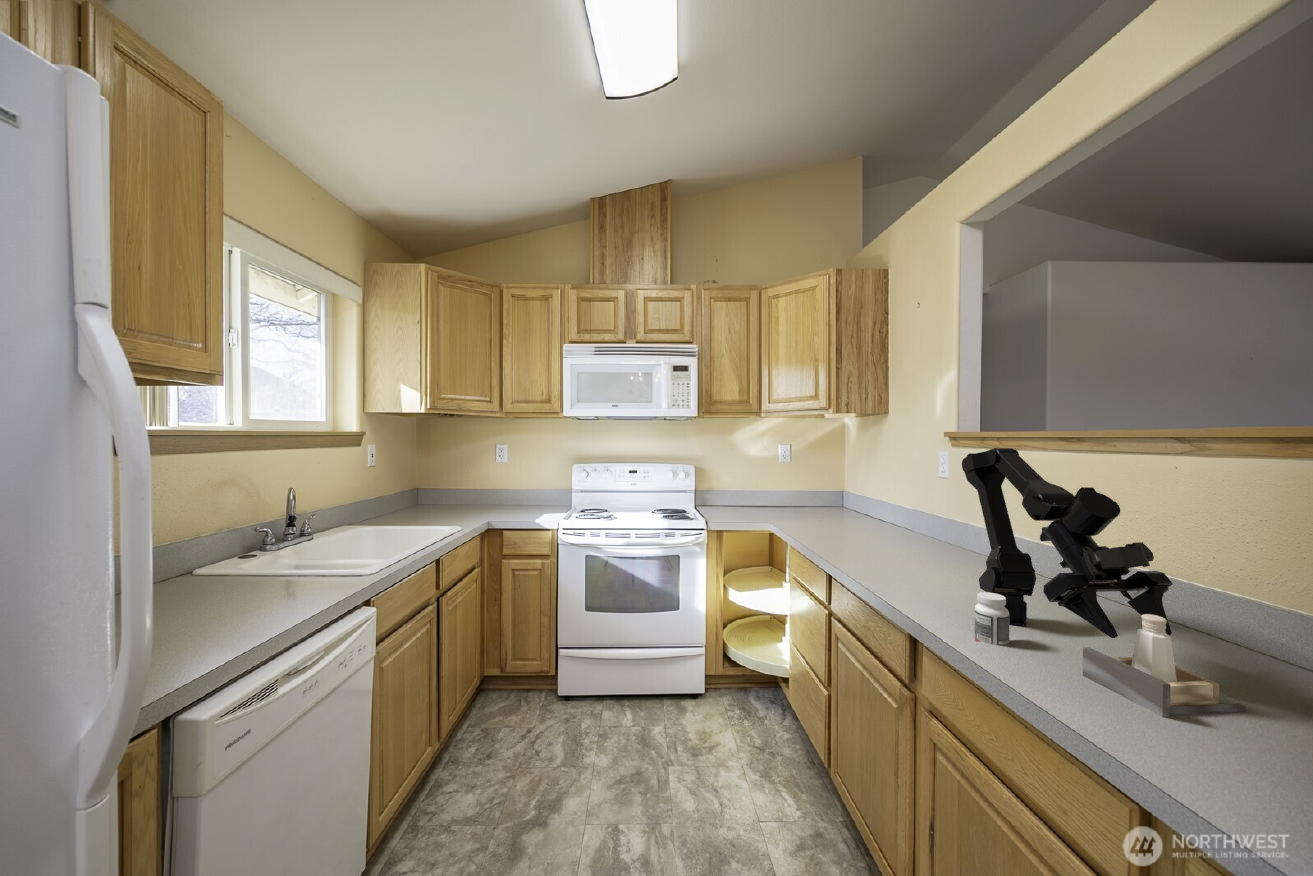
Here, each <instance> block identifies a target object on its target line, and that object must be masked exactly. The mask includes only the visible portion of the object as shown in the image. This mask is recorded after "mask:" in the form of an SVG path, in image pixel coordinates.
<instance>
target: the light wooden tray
mask: <svg viewBox="0 0 1313 876" xmlns="http://www.w3.org/2000/svg"><path fill="white" fill-rule="evenodd" d="M1113 658H1114V659H1116V660H1118V661H1121V662H1123V663H1125V664H1127V665H1129V666H1131V664H1132V658H1133V656H1129V657H1128V656H1125V657H1113ZM1175 672H1176V680H1177V682H1169V684H1170V707H1175V706H1193V705H1212V704H1220V683H1218V682H1215V681H1213V680H1210V679H1209V678H1206V677H1204V676H1201V675H1198V674H1197V673H1194V672H1192V671H1190V670H1187V669H1185V668H1182V667H1180V666H1178V665H1175Z"/></svg>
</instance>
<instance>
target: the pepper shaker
mask: <svg viewBox="0 0 1313 876" xmlns="http://www.w3.org/2000/svg"><path fill="white" fill-rule="evenodd" d="M1140 617H1141V624H1142V628H1138V629H1137V631H1136V635H1135V640H1134V647H1133V653H1132V657H1133V658H1132V664H1131V666H1132V667H1134V668H1136V669H1138V670H1140V671H1143V672H1145V673H1147V674H1149V675H1151V676H1154V677H1156V678H1158V679H1160V680H1163V681H1165V682H1167V683H1169V682H1177V680H1176V672H1175V666H1176V665H1175V659H1174V650H1173V642H1172V641H1173V640H1172V637H1171V635H1168V634H1166V633H1165V632H1166V631H1165V629H1166V623H1167V620H1168V619H1167V620H1166V619H1165V618H1163V617H1160V616H1157V615H1151V614H1144V615H1142V616H1141V615H1140Z"/></svg>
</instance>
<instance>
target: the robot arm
mask: <svg viewBox="0 0 1313 876" xmlns="http://www.w3.org/2000/svg"><path fill="white" fill-rule="evenodd" d="M961 469H962V471H963V472H964V476H965V478H966V481H967V482H968V483H969V484H970V485H971V486H972V487H973V488H974V489H975V490H976V491H977V494H978V499H979V503H980V508H981V511H982V516H983V520H984V523H985V529H986V532H987V533H986V534H987V536H988V537H987V538H988V543H989V547H990V552H989V554H988V557H987V559H986V560H985V565H986V569H985V570H984V572H983V573H982V574H981V575H980V577H979V578H978V583H979V588H980V590H982V591H983V592H990V593H996V594H999V595H1002V596H1004V597H1005V598H1006V605H1005V606H1004V607H1005V608H1006V609H1007V610H1008V611H1009V625H1014V626H1021V627H1026V626H1027V623H1026V621H1027V617H1028V614H1027V613H1028V609H1027V608H1028V607H1027V606H1028V603H1027V602H1026V601H1025V597H1024V596H1028V597H1032V595H1033V592H1034V589H1035V585H1036V581H1037V576H1036V575H1037V574H1036V569H1035V567H1034V565H1033V562H1032V557H1031V555H1030V554H1029V553H1028V552H1022V551H1021V550H1020V549H1019V547H1018V546H1017V543H1016V542H1017V541H1016V539H1015V534H1014V531H1013V527H1012V522H1011V518H1010V515H1009V511H1008V507H1007V503H1006V499H1005V495H1004V491H1003V488H1002V487H1003V483H1004V481H1005V479H1006V480H1008V482H1009V483H1010V484H1011V485H1012V486H1013V487H1014V488H1015V489H1016V491H1018V492H1019V493H1020V495H1021V497H1022V502H1021V505H1022V507H1023V509H1024V510H1025V511H1026V514H1028V516H1029V517H1030V518H1031V519H1032V520H1033V521H1035V522H1037V521H1039V522H1040V521H1041V522H1043V521H1044V522H1050V523H1049V525H1048V526H1042V527H1041V533H1040V535H1039V541H1040V542H1043V543H1044V542H1051V544H1052V545H1053V546H1054V548H1055V550H1056V551H1057V552H1058V554H1059V555H1060V557H1061V558H1062V559H1063V560H1061V561H1060V562H1059V564H1060V566H1061V568H1062V569H1069V570H1070V571H1071V572H1059V573H1058V574H1057V575H1055V576H1054V577H1052V578H1051V579H1049V581H1047V582H1046V583H1044V584H1043V594H1044V596H1045V597H1046V598H1047V600H1048V602H1049V603H1057V605H1058V606H1059V607H1060V608H1061V607H1063V608H1065V609H1067V610H1068V611H1070V612H1072V613H1074V614H1075V615H1077V616H1078V617H1080V618H1082V619H1083V620H1084V621H1086V622H1088V623H1089V624H1091V625H1092V626H1093V627H1095V628H1096V629H1097V630H1099V631H1100V632H1102V633H1103V634H1104V635H1106V636H1108V637H1109V638H1110V639H1115V638H1117V637H1118V636H1119V635H1118V632H1117V630H1116V628H1115V627H1114V625H1113V623H1112V622H1111V620H1110V619H1109V617H1108V616H1107V614H1106V613H1105V611H1104V609H1103V608H1102V606H1101V605H1100V603H1099V602H1098V597H1097V595H1098V594H1097V593H1099V592H1100V593H1101V592H1103V593H1104V592H1120V593H1121V595H1122V596H1123V597H1124V598H1126V599H1127V600H1128V601H1127V602H1126V603H1127V604H1128V606H1130V607H1131V608H1132V609H1133V610H1135V612H1137V614H1139V615H1140V617H1141V616H1142V615H1144V614H1151V615H1157V616H1160V617H1163V618H1165V619H1166V620H1167V623H1166V629H1165V631H1166V632H1165V633H1166V634H1168V635H1169V636H1171V635H1172V634H1173V633H1172V629H1171V626H1170V623H1169V619H1168V616H1167V613H1166V611H1165V608H1164V603H1163V597H1164V595H1165V593H1167V592H1168V591H1169V588H1170V587H1171V586H1173V585H1174V583H1173V582H1172V581H1171V579H1170V578H1169V577H1168V575H1166V573H1165V572H1162V571H1158V570H1138V571H1136V572H1134V573H1133V574H1131V575H1129V576H1128V577H1126V578H1124V579H1123V578H1122V576H1127V575H1128V574H1130V573H1131V570H1130V569H1133V568H1138V567H1144V568H1146V567H1150V566H1151V565H1150V562H1152V561H1154V559H1155V557H1154V553H1153V551H1152V550H1151V549H1150V548H1149V546H1147V545H1146V544H1145V543H1144V542H1143V541H1141V542H1132V543H1127V544H1125V546H1116V547H1115V546H1114V547H1111V548H1109V547H1108V546H1106V545H1105V546H1104V545H1103V546H1101V545H1100V546H1099V545H1098V543H1097V541H1095V540H1094V538H1093V537H1095V536H1098V535H1100V533H1102V532H1103V531H1104V530H1105V529H1106V528H1107V527H1108V526H1109V525H1110V524H1111V523H1112V522H1113V521H1114V520H1115V519H1117V517H1118V516H1120V515H1121V506H1120V505H1119V503H1118V502H1117V501H1114V500H1113V499H1112V498H1111V497H1109V496H1107V495H1105V494H1103V493H1100V492H1098V491H1096V489H1095V488H1094V487H1091V486H1090V487H1085V486H1084V487H1080V488H1078V490H1077V491H1076V494H1075V495H1074V494H1073V493H1072V492H1070V491H1068V490H1067V489H1066V488H1063V487H1062V486H1059V485H1057V484H1054V483H1051V482H1049V481H1046V480H1045V479H1044V478H1043V477H1042V476H1041V475H1040V474H1039V473H1038V472H1037V471H1035V469H1034V468H1033V467H1032V466H1031V465H1030V464H1028V462H1026V461H1025V459H1023V458H1022V457H1021V456H1020V454H1019V452H1018V450H1017V449H1016V448H1013V447H1011V448H1010V447H1009V448H1008V447H1001V448H1000V447H997V448H995V447H993V448H991V449H988V450H984V451H981V452H977V453H976V452H975V453H968V454H967V455H966V456H965V457H964V458H963V459H962V460H961Z"/></svg>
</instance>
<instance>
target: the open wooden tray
mask: <svg viewBox="0 0 1313 876" xmlns="http://www.w3.org/2000/svg"><path fill="white" fill-rule="evenodd" d="M1114 658H1115V657H1112V656H1109V655H1107V654H1105V653H1103V652H1101V651H1099V650H1097V649H1094V648H1092V647H1089V646H1088V647H1083V648H1082V677H1085V678H1087V679H1088V680H1090V681H1092V682H1094V683H1096V684H1098V685H1100V686H1102V687H1104V688H1106V689H1108V690H1110V691H1112V692H1113V693H1115V694H1118V695H1119V696H1121V697H1123V698H1125V699H1127V700H1129V701H1131V702H1133V703H1134V704H1136V705H1139V706H1140V707H1143V708H1144V709H1146V710H1148V711H1149V712H1152V713H1154V714H1155V715H1157V716H1160V717H1161V718H1170V717H1171V716H1177V715H1178V716H1180V715H1181V716H1182V715H1184V716H1185V715H1199V714H1200V715H1201V714H1202V715H1203V714H1215V713H1216V714H1217V713H1218V714H1220V713H1234V712H1236V713H1237V712H1247V705H1245V704H1242V703H1240V702H1238V703H1237V702H1234V703H1233V702H1232V703H1219V704H1212V705H1193V706H1175V707H1170V684H1169V683H1167V682H1165V681H1163V680H1160V679H1158V678H1156V677H1154V676H1151V675H1149V674H1147V673H1145V672H1143V671H1140V670H1138V669H1136V668H1134V667H1132V666H1129V665H1127V664H1125V663H1123V662H1121V661H1118V660H1116V659H1114Z"/></svg>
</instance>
